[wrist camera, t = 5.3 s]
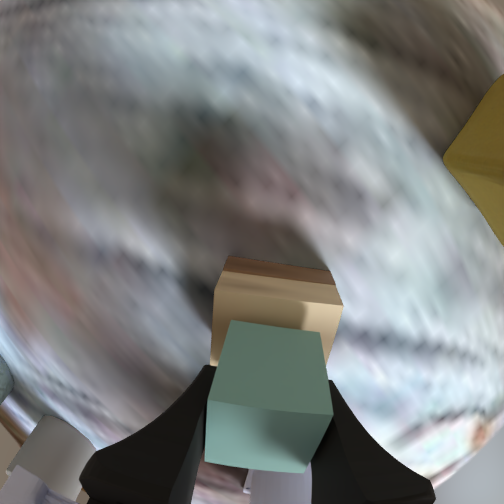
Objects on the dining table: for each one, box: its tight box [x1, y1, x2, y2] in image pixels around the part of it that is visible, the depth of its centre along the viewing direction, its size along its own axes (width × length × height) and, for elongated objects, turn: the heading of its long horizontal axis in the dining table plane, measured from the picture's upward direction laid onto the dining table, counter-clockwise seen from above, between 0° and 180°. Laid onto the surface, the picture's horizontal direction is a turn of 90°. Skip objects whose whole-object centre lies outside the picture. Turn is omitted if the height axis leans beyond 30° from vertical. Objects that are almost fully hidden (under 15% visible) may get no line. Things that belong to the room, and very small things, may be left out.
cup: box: [6, 415, 96, 501], centre depth 22 cm, size 8×8×10 cm
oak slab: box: [210, 271, 343, 366], centre depth 16 cm, size 6×6×2 cm
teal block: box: [205, 320, 333, 473], centre depth 12 cm, size 4×4×5 cm
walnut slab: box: [223, 256, 336, 286], centre depth 18 cm, size 6×6×2 cm
